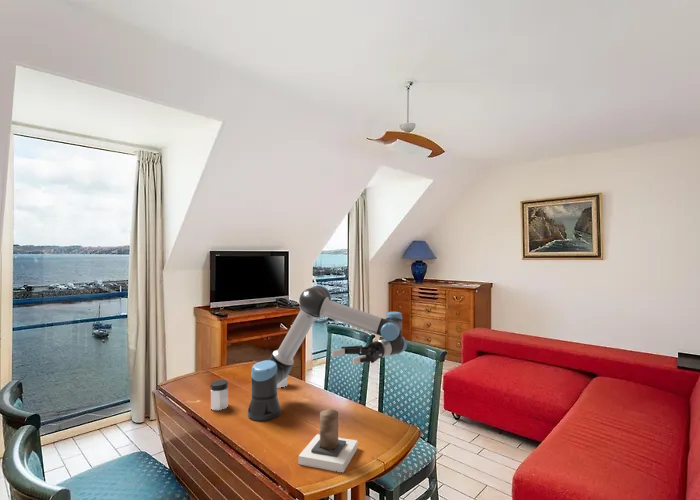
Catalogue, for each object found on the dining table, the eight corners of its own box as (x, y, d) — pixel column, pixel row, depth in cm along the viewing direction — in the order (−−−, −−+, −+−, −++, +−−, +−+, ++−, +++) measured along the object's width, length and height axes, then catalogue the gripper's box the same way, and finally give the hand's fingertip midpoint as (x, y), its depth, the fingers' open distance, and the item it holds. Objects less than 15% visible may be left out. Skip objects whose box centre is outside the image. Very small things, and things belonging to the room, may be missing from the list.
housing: (298, 464, 137) (298, 453, 137) (317, 441, 154) (317, 431, 154) (343, 472, 132) (343, 461, 132) (357, 448, 148) (357, 438, 148)
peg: (317, 458, 141) (317, 415, 141) (324, 449, 147) (324, 408, 147) (334, 461, 139) (334, 418, 139) (340, 452, 145) (340, 410, 145)
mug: (271, 390, 208) (271, 368, 208) (264, 386, 215) (264, 365, 215) (290, 385, 216) (290, 364, 216) (282, 381, 222) (282, 361, 222)
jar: (223, 402, 193) (222, 378, 193) (232, 406, 188) (232, 381, 188) (206, 407, 186) (206, 383, 186) (215, 412, 181) (215, 387, 181)
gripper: (399, 364, 163) (362, 374, 149) (360, 351, 182) (324, 359, 169) (399, 346, 163) (362, 355, 149) (360, 335, 182) (324, 342, 168)
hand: (342, 357), depth 159 cm, fingers open, 13 cm apart
